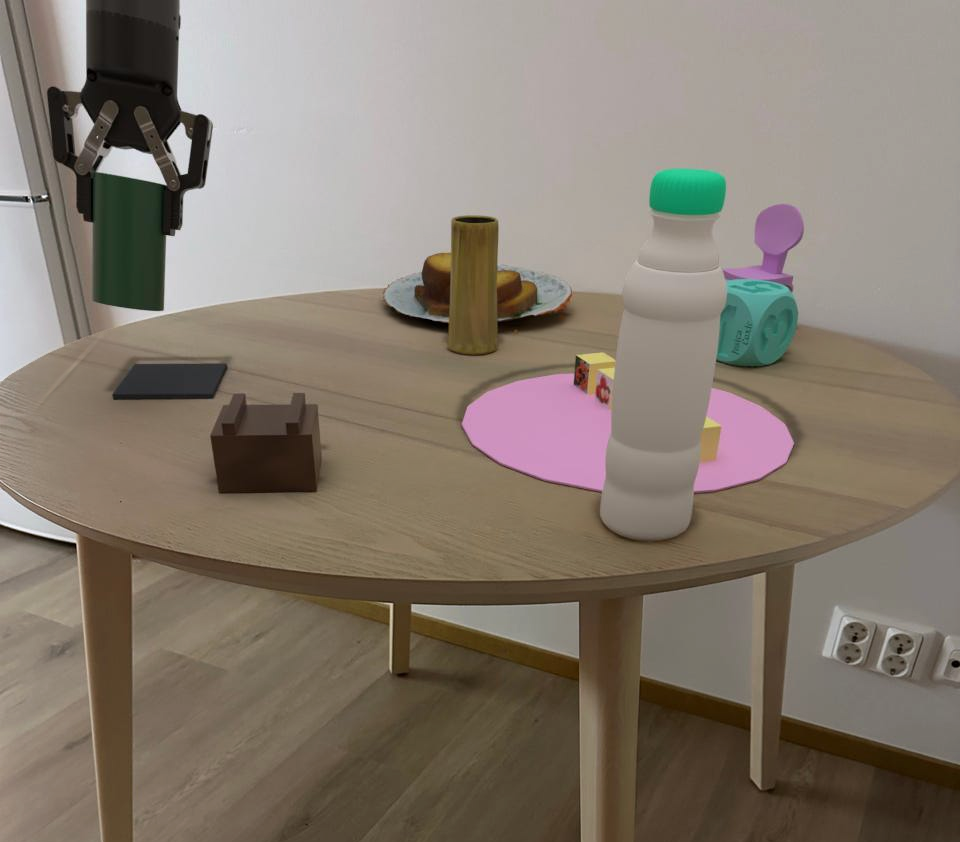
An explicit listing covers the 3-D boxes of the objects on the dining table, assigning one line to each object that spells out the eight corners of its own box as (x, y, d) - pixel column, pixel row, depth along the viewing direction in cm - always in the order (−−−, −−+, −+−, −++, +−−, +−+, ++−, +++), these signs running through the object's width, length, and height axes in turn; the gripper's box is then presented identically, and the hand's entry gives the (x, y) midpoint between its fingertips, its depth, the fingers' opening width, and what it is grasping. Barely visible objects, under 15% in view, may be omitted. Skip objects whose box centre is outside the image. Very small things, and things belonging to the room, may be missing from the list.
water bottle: (580, 520, 73) (611, 168, 59) (640, 496, 77) (682, 161, 63) (647, 553, 69) (698, 182, 55) (707, 527, 72) (769, 174, 58)
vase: (506, 345, 112) (510, 217, 104) (485, 358, 107) (488, 226, 99) (460, 337, 114) (462, 212, 106) (438, 350, 109) (437, 220, 101)
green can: (103, 298, 91) (83, 301, 85) (104, 175, 86) (83, 169, 81) (170, 309, 91) (155, 312, 86) (174, 187, 87) (159, 182, 82)
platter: (680, 362, 108) (684, 333, 106) (867, 467, 83) (877, 431, 81) (419, 390, 98) (418, 358, 96) (543, 518, 73) (546, 478, 71)
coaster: (113, 399, 94) (112, 394, 93) (135, 368, 102) (134, 363, 102) (213, 398, 95) (212, 393, 94) (227, 367, 103) (226, 363, 102)
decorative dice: (694, 353, 111) (704, 284, 106) (737, 343, 115) (749, 275, 110) (747, 371, 105) (760, 299, 101) (790, 359, 109) (805, 289, 105)
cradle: (218, 493, 76) (208, 423, 72) (230, 459, 82) (221, 393, 78) (316, 491, 76) (310, 422, 73) (321, 458, 82) (316, 392, 79)
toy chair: (700, 327, 120) (719, 201, 112) (754, 321, 123) (777, 198, 115) (740, 345, 114) (764, 213, 105) (796, 338, 117) (823, 209, 109)
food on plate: (606, 320, 122) (611, 268, 118) (439, 345, 111) (439, 289, 108) (506, 279, 140) (508, 232, 136) (355, 297, 130) (352, 247, 126)
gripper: (29, -10, 75) (34, 213, 81) (211, 26, 77) (202, 241, 83) (60, 13, 82) (62, 217, 88) (225, 45, 84) (216, 242, 90)
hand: (130, 228), depth 86 cm, fingers closed on green can, 6 cm apart
